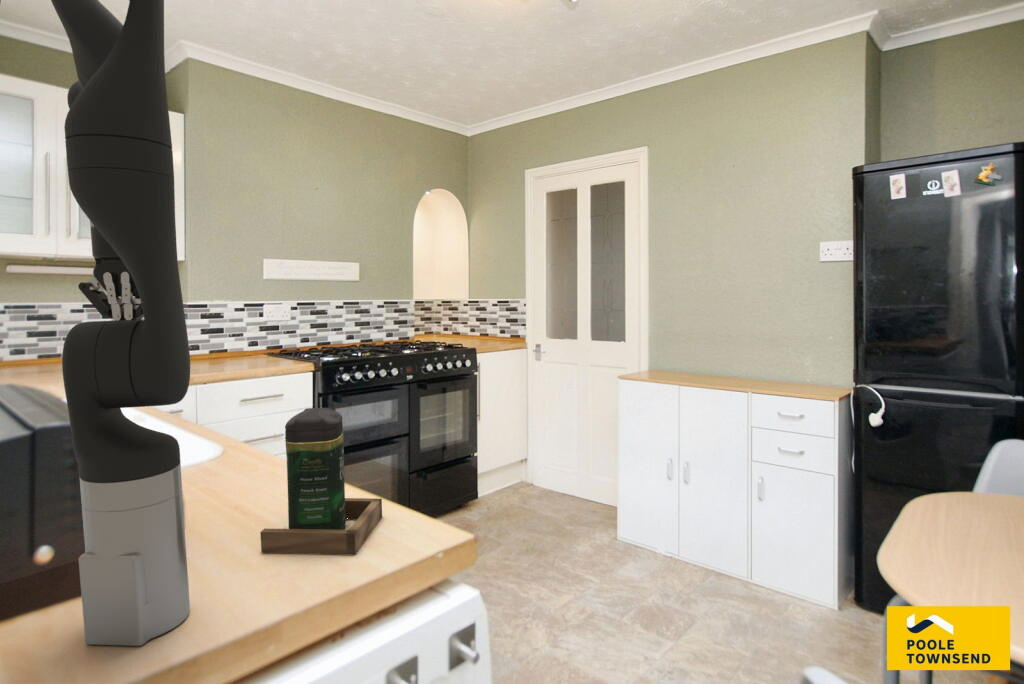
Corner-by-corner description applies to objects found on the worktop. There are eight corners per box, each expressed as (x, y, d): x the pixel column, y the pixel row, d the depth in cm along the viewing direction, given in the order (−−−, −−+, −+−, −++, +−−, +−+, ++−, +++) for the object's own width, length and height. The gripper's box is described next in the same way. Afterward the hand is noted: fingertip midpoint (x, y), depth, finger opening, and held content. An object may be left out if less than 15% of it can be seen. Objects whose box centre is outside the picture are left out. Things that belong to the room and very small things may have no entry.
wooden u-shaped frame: (355, 554, 83) (354, 533, 82) (261, 552, 83) (260, 532, 83) (382, 516, 96) (381, 498, 96) (301, 515, 97) (300, 497, 96)
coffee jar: (342, 544, 86) (337, 416, 84) (284, 548, 85) (278, 418, 83) (350, 518, 95) (345, 403, 94) (297, 522, 94) (292, 405, 92)
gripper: (56, 224, 83) (66, 349, 85) (150, 221, 83) (158, 347, 84) (95, 230, 91) (103, 345, 92) (181, 228, 91) (188, 343, 92)
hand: (130, 345), depth 88 cm, fingers closed
